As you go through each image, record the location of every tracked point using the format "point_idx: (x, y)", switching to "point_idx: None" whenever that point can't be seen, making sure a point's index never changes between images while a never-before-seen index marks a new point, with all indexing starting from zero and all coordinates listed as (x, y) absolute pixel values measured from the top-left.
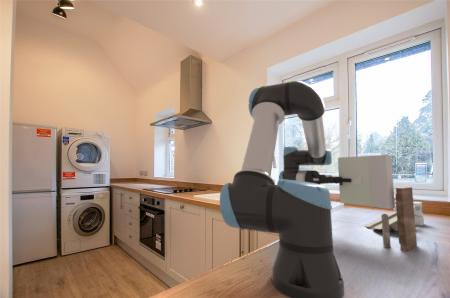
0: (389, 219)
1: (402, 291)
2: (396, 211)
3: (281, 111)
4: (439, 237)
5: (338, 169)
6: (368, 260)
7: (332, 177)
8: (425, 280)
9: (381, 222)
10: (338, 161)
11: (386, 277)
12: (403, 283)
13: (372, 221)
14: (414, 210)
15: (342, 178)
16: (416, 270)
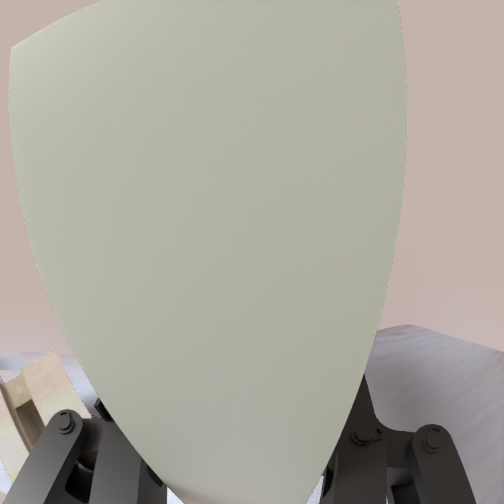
0: (43, 421)
1: (451, 339)
2: None
3: None
4: (74, 362)
5: (341, 424)
6: (411, 408)
7: (460, 475)
8: (396, 340)
9: (30, 449)
10: (398, 166)
11: (441, 361)
12: (433, 347)
13: (7, 471)
14: None
15: (372, 410)
16: (371, 357)
